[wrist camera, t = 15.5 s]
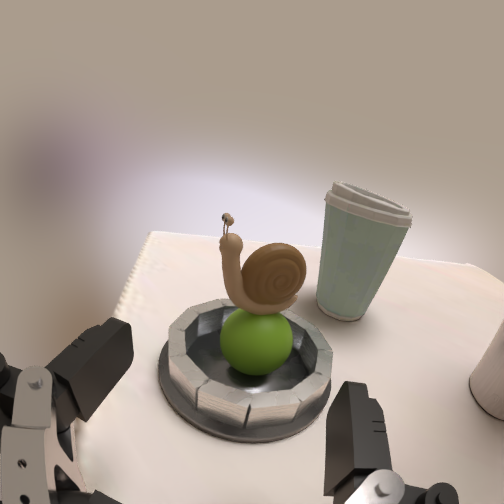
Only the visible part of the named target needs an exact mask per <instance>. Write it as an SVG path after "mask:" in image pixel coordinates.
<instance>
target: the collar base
mask: <svg viewBox="0 0 504 504" xmlns="http://www.w3.org/2000/svg"><path fill="white" fill-rule="evenodd" d="M237 309H239V308H238V307H237V306H235V305H234V304H233V303H232V301H231V300H230V299H220V300H219V299H216V300H213V301H209V302H206V303H203V304H199V305H196V306H192V307H190V309H189V308H188V309H187V310H186V311H185V312H184V313H183V314H182V315H181V316H180V317H178V318H177V319H176V320H175V321H174V322H173V323H172V324H171V325H170V326H169V339H168V341H167V342H166V343H165V345H164V347H163V349H162V351H161V354H160V358H159V378H160V383H161V387H162V390H163V392H164V394H165V396H166V398H167V400H168V401H169V403H170V404H171V406H172V407H173V408H174V409H175V410H176V411H177V413H178V414H179V415H180V416H182V417H183V418H184V419H185V420H186V421H188V422H189V423H190V424H192V425H193V426H195V427H197V428H198V429H200V430H202V431H204V432H206V433H208V434H211V435H213V436H216V437H219V438H222V439H226V440H230V441H236V442H243V443H264V442H272V441H277V440H281V439H284V438H287V437H290V436H293V435H295V434H297V433H298V432H300V431H302V430H304V429H305V428H306V427H308V426H309V425H310V424H312V423H313V422H314V421H315V420H316V418H317V417H318V416H319V415H320V413H321V412H322V410H323V408H324V407H325V405H326V403H327V401H328V398H329V395H330V391H331V369H332V357H333V352H332V349H331V347H330V346H329V344H328V343H327V341H326V340H325V338H324V337H323V336H322V334H321V333H320V331H319V330H318V328H315V326H314V325H313V324H311V323H310V322H308V321H306V320H305V319H303V318H301V317H300V316H298V315H297V314H295V313H293V312H292V311H290V310H288V311H287V309H286V310H284V311H281V312H280V313H281V314H282V315H283V316H284V317H285V318H286V320H287V321H288V323H289V325H290V327H291V330H292V335H293V345H292V349H291V352H290V355H289V357H288V358H287V360H286V361H285V362H284V364H283V365H282V366H280V367H279V368H278V369H276V370H275V371H273V372H271V373H268V374H265V375H248V374H244V373H242V372H240V371H238V370H236V369H235V368H233V367H232V366H231V365H230V364H229V363H228V362H227V360H226V359H225V357H224V355H223V353H222V351H221V347H220V333H221V329H222V326H223V324H224V322H225V321H226V319H227V318H228V317H229V316H230V315H231V314H232V313H233V312H234V311H236V310H237Z"/></svg>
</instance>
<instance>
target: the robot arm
mask: <svg viewBox="0 0 504 504" xmlns="http://www.w3.org/2000/svg"><path fill="white" fill-rule="evenodd" d="M133 357H134V351H133V342H132V331H131V326H130V324H129V323H126V322H124V321H121V320H119V319H116V318H114V317H111V318H109V319H108V320H107V321H106V322H105V323H104V324H103V325H101V326H100V325H96V326H94V327H91V328H89V329H87V330H85V331H84V332H83V333H82V334H81V335H80V336H79V337H78V339H75V340H74V341H73V342H72V343H71V345H69V346H68V347H66V348H65V349H64V350H63V351H62V352H61V353H60V354H59V355H58V356H57V357H56V358H54V359H53V360H52V361H51V362H50V363H49V364H48V365H47V366H46V367H41V366H30V367H28V368H26V369H24V370H21V369H17V368H15V367H12V366H9V365H8V364H7V362H6V360H5V358H4V356H3V355H2V354H1V353H0V453H1V459H0V463H1V464H0V465H1V466H0V467H1V469H0V471H1V493H2V501H0V504H122V503H120V502H118V501H116V500H114V499H112V498H110V497H108V496H106V495H105V494H103V493H101V492H99V491H97V490H96V489H95V491H94V493H93V494H91V493H87V491H86V487H85V483H84V480H83V477H82V475H81V472H80V470H79V467H78V461H77V454H76V445H75V435H74V425H73V421H74V420H75V418H76V417H78V418H80V419H81V420H83V421H84V422H87V421H88V420H89V418H90V417H91V416H92V414H93V413H94V412H95V411H96V409H97V408H98V407H99V405H100V404H101V403H102V402H103V400H104V399H105V398H106V396H107V395H108V394H109V393H110V391H111V390H112V389H113V388H114V386H115V385H116V384H117V383H118V381H119V380H120V379H121V377H122V376H123V375H124V374H125V372H126V371H127V370H128V369H129V367H130V366H131V364H132V361H133ZM470 387H471V391H472V393H473V395H474V397H475V399H476V400H477V402H478V403H479V404H480V405H481V406H482V408H483V409H484V410H486V411H487V412H488V413H489V414H491V415H492V416H494V417H496V418H498V419H501V420H504V320H503V322H502V324H501V325H500V327H499V329H498V331H497V333H496V335H495V337H494V339H493V340H492V342H491V344H490V346H489V347H488V349H487V350H486V352H485V354H484V356H483V357H482V359H481V360H480V362H479V364H478V365H477V367H476V368H475V370H474V371H473V373H472V375H471V376H470ZM384 422H385V420H384V415H383V410H382V408H381V406H380V405H379V403H378V402H377V400H376V399H373V398H369V396H368V390H367V386H366V384H365V383H357V382H349V381H345V382H344V383H343V385H342V386H341V388H340V390H339V392H338V394H337V395H336V397H335V399H334V401H333V403H332V404H331V406H330V408H329V411H328V414H327V419H326V456H325V479H324V495H323V496H334V501H333V504H459V500H458V494H457V492H456V490H455V488H454V487H453V486H451V485H450V484H448V483H443V482H442V483H437V484H435V485H433V486H432V487H430V488H429V489H424V488H419V487H414V486H409V485H406V484H404V482H403V480H402V478H401V477H400V476H399V475H398V474H397V473H395V472H393V470H392V465H391V458H390V451H389V444H388V438H387V433H386V426H385V424H384Z"/></svg>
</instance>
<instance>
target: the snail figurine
mask: <svg viewBox="0 0 504 504" xmlns="http://www.w3.org/2000/svg"><path fill="white" fill-rule="evenodd" d="M222 220H223V221H224V230H223V232H224V233H223V237H222V238H221V239H220V241H219V242H220V247H219V249H220V252H221V255H222V270H223V278H224V284H225V288H226V291H227V294H228V296H229V298H230V300H231V301H232V303H233V304H234V305H235V306H237V307H238V308H239V309H237V310H236V311H234V312H233V313H232V314H231V315H230V316H229V317H228V318H227V319H226V321H225V322H224V324H223V326H222V329H221V333H220V347H221V351H222V353H223V355H224V357H225V359H226V360H227V362H228V363H229V364H230V365H231V366H232V367H233V368H235V369H236V370H238V371H240V372H242V373H244V374H248V375H265V374H268V373H271V372H273V371H275V370H276V369H278V368H279V367H280V366H282V365H283V364H284V362H285V361H286V360H287V358H288V357H289V355H290V352H291V349H292V345H293V335H292V330H291V327H290V325H289V323H288V321H287V320H286V318H285V317H284V316H283V315H282V314H281V313H280V312H281V311H284V310H286V309H287V308H289V307H290V306H291V305H292V304H293V303H294V302H295V301H296V300H297V298H298V296H297V295H295V294H296V293H297V292H298V291H299V289H300V288H301V286H302V285H303V283H304V280H305V277H306V263H305V260H304V258H303V256H302V254H301V253H300V252H299V251H298V250H297V249H296V248H295V247H293V246H291V245H288V244H284V243H272V244H268V245H265V246H263V247H261V248H259V249H258V250H256V251H255V252H253V253H252V254H251V255H250V256H249V257H248V259H247V260H246V261H245V263H244V265H243V267H242V270H241V268H240V253H241V251H242V248H243V242H242V239H241V238H240V237H239V236H238V235H236V234H234V233H228V227H229V226H231V225H232V224H233V223H234V219H233V218H232V217H231V216H230V214H228V213H225V214H223V216H222ZM225 224H226V225H227V232H226V234H225Z"/></svg>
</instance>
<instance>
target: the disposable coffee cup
mask: <svg viewBox="0 0 504 504" xmlns="http://www.w3.org/2000/svg"><path fill="white" fill-rule="evenodd" d="M324 200H325V201H326V208H325V220H324V231H323V242H322V251H321V260H320V268H319V277H318V285H317V292H316V296H317V303H318V307H319V308H320V309H321V310H322V311H323V312H324V313H325V314H326V315H329V316H331V317H333V318H335V319H338V320H344V321H354V320H357V319H360V317H361V315H364V313H365V312H366V310H367V308H368V306H369V305H370V303H371V301H372V300H373V298H374V296H375V294H376V292H377V291H378V289H379V287H380V285H381V283H382V281H383V279H384V278H385V276H386V274H387V272H388V270H389V268H390V266H391V264H392V262H393V260H394V258H395V256H396V254H397V252H398V250H399V248H400V246H401V244H402V241H403V239H404V237H405V235H406V233H407V231H408V228H409V227H410V228H411V225H412V223H411V221H412V217H413V216H412V214H410V210H409V209H408V208H406V207H404V206H403V205H401V204H399V203H397V202H395V201H392V200H390V199H388V198H385V197H383V196H381V195H378V194H376V193H373V192H371V191H368V190H365V189H362V188H360V187H357V186H354V185H351V184H347V183H344V182H341V181H335V182H334V183H333V187H332V190H329V191H328V192H327V194H326V198H325V199H324Z"/></svg>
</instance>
